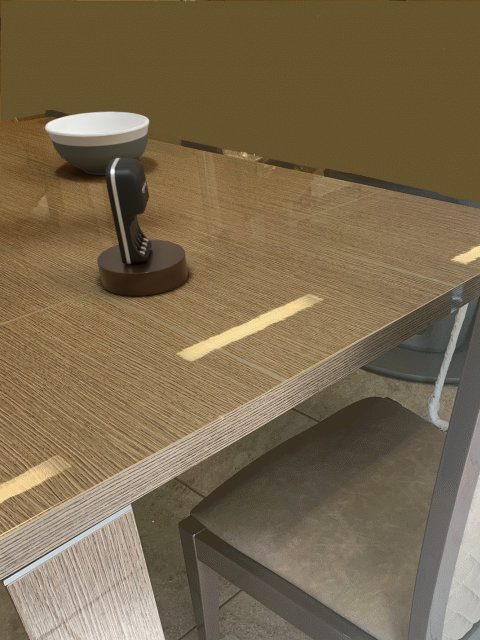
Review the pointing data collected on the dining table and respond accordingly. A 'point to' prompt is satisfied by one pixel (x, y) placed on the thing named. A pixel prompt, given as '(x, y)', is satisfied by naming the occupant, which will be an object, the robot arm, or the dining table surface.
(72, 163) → the bowl
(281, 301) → the dining table surface
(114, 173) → the battery charger
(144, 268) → the brown round disc
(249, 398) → the dining table surface
